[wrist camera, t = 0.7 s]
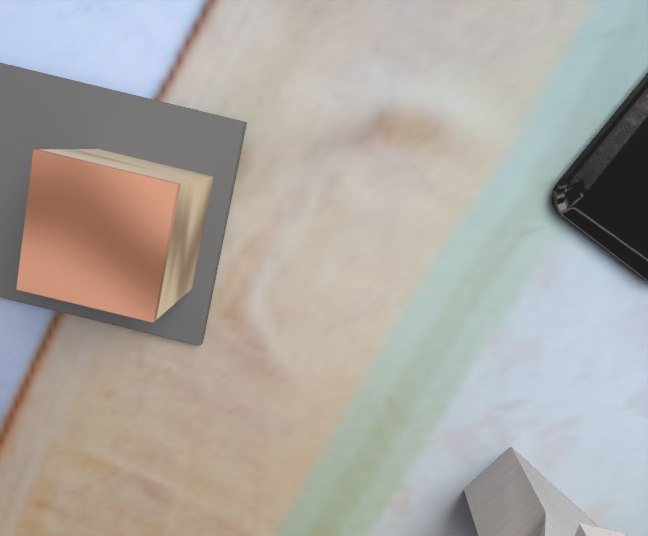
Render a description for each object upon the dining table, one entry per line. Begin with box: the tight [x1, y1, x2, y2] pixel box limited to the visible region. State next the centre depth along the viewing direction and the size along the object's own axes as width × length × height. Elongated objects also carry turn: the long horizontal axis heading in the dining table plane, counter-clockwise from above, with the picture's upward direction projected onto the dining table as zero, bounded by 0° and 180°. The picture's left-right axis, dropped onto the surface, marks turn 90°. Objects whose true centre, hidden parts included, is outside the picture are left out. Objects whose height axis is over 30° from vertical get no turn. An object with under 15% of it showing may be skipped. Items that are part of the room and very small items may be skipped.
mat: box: [0, 63, 247, 345], centre depth 30 cm, size 12×20×1 cm, turn 77°
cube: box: [16, 149, 213, 322], centre depth 27 cm, size 6×6×6 cm
